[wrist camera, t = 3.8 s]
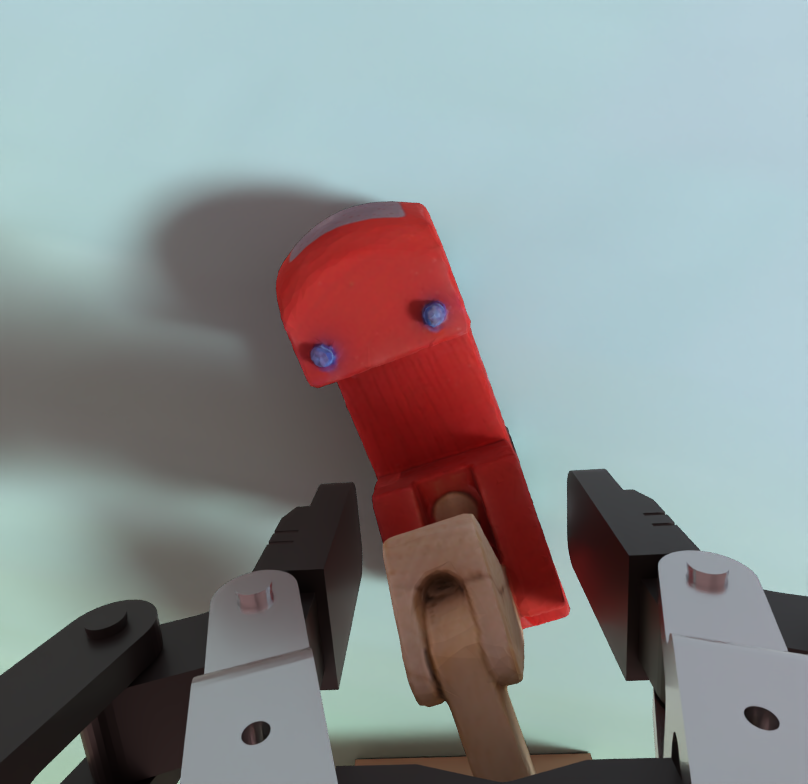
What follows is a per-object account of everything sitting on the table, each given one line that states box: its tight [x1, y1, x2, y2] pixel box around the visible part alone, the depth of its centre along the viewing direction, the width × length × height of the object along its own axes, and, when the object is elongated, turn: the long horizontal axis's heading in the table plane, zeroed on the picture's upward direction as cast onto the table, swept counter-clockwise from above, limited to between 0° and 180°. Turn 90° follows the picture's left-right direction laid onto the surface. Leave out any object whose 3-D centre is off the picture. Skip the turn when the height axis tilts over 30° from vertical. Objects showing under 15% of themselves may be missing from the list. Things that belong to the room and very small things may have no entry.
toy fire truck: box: [276, 201, 570, 782], centre depth 10 cm, size 3×14×10 cm, turn 20°
